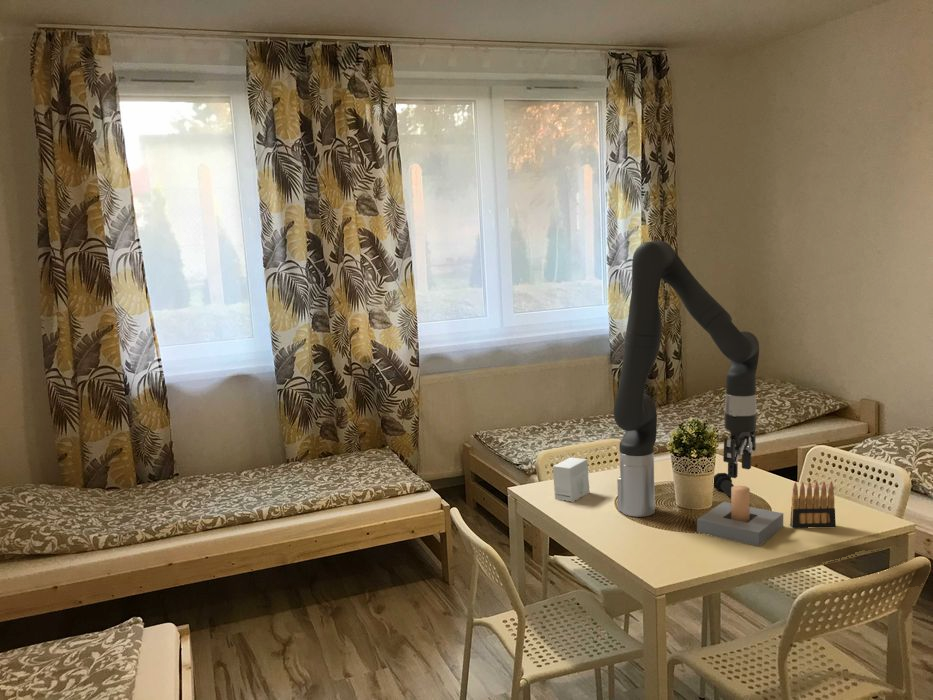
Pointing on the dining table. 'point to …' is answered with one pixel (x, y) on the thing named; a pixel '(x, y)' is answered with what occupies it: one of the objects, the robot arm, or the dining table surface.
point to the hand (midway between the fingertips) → (739, 473)
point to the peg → (740, 503)
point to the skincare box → (571, 479)
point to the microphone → (723, 483)
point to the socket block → (740, 524)
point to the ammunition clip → (813, 507)
